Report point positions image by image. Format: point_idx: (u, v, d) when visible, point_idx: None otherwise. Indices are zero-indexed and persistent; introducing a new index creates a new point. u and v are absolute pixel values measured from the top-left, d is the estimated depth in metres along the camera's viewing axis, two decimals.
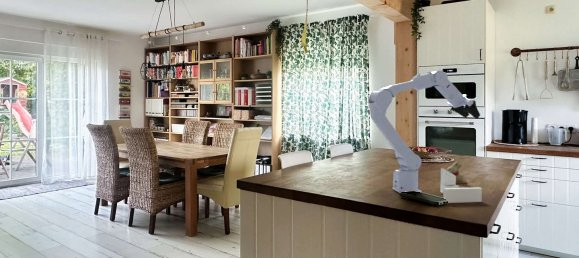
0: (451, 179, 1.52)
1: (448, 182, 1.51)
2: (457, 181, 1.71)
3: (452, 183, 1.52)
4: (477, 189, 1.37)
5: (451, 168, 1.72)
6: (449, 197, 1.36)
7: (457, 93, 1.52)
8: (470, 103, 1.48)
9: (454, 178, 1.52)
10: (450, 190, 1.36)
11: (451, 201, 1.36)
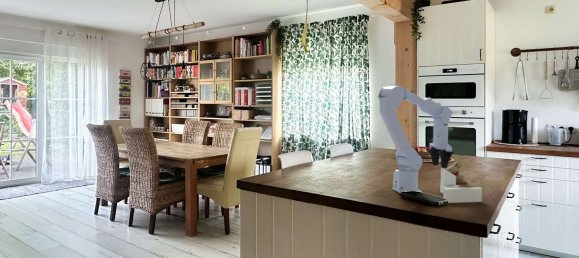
0: (451, 179, 1.52)
1: (448, 182, 1.51)
2: (457, 181, 1.71)
3: (452, 183, 1.52)
4: (477, 189, 1.37)
5: (451, 168, 1.72)
6: (449, 197, 1.36)
7: (445, 136, 1.56)
8: (449, 149, 1.51)
9: (454, 178, 1.52)
10: (450, 190, 1.36)
11: (451, 201, 1.36)
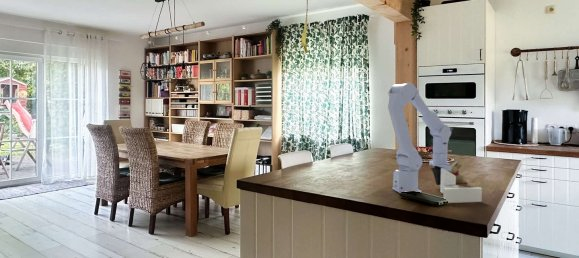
0: (451, 179, 1.52)
1: (448, 182, 1.51)
2: (457, 181, 1.71)
3: (452, 183, 1.52)
4: (477, 189, 1.37)
5: (451, 168, 1.72)
6: (449, 197, 1.36)
7: (445, 155, 1.56)
8: (448, 168, 1.52)
9: (454, 178, 1.52)
10: (450, 190, 1.36)
11: (451, 201, 1.36)
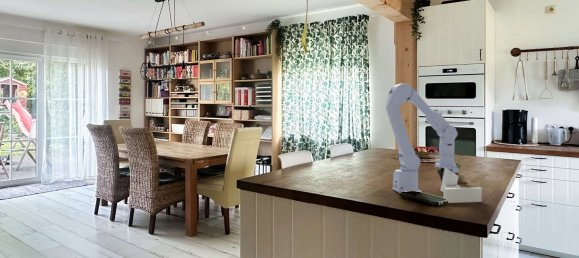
0: (453, 179, 1.50)
1: (450, 182, 1.50)
2: (457, 181, 1.71)
3: (454, 183, 1.51)
4: (477, 189, 1.37)
5: None
6: (449, 197, 1.36)
7: (452, 157, 1.51)
8: (455, 171, 1.47)
9: (456, 178, 1.51)
10: (450, 190, 1.36)
11: (451, 201, 1.36)
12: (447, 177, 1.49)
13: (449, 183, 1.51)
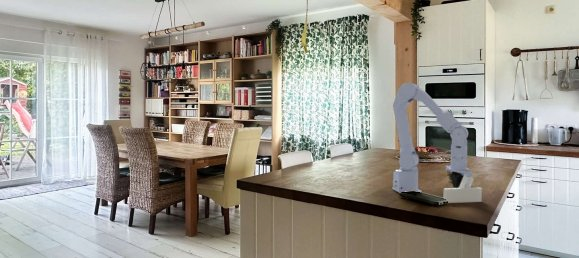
0: (470, 183, 1.42)
1: (467, 186, 1.42)
2: None
3: (469, 187, 1.43)
4: (477, 189, 1.37)
5: None
6: (449, 197, 1.36)
7: (464, 160, 1.42)
8: (469, 175, 1.38)
9: (472, 182, 1.43)
10: (450, 190, 1.36)
11: (451, 201, 1.36)
12: (467, 182, 1.40)
13: None
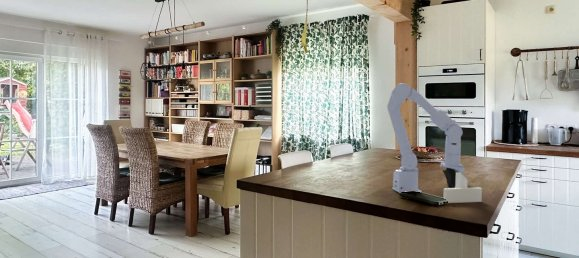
0: (464, 183, 1.44)
1: (463, 186, 1.43)
2: None
3: (465, 187, 1.44)
4: (477, 189, 1.37)
5: None
6: (449, 197, 1.36)
7: (458, 156, 1.47)
8: (462, 171, 1.42)
9: (466, 182, 1.45)
10: (450, 190, 1.36)
11: (451, 201, 1.36)
12: (461, 182, 1.42)
13: None
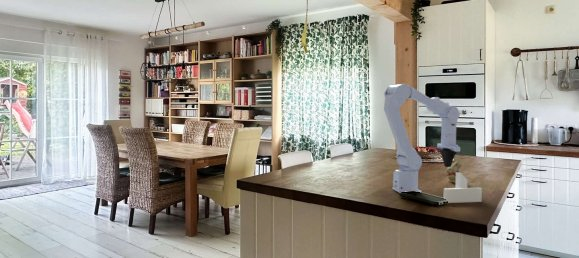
0: (464, 183, 1.44)
1: (463, 186, 1.43)
2: None
3: (465, 187, 1.44)
4: (477, 189, 1.37)
5: (451, 168, 1.72)
6: (449, 197, 1.36)
7: (453, 136, 1.55)
8: (457, 149, 1.51)
9: (466, 182, 1.45)
10: (450, 190, 1.36)
11: (451, 201, 1.36)
12: (461, 182, 1.42)
13: None
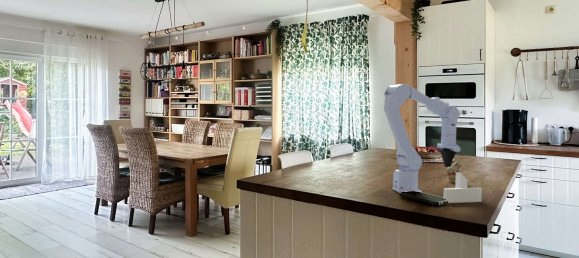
0: (464, 183, 1.44)
1: (463, 186, 1.43)
2: None
3: (465, 187, 1.44)
4: (477, 189, 1.37)
5: (451, 168, 1.72)
6: (449, 197, 1.36)
7: (453, 136, 1.55)
8: (457, 149, 1.51)
9: (466, 182, 1.45)
10: (450, 190, 1.36)
11: (451, 201, 1.36)
12: (461, 182, 1.42)
13: None
